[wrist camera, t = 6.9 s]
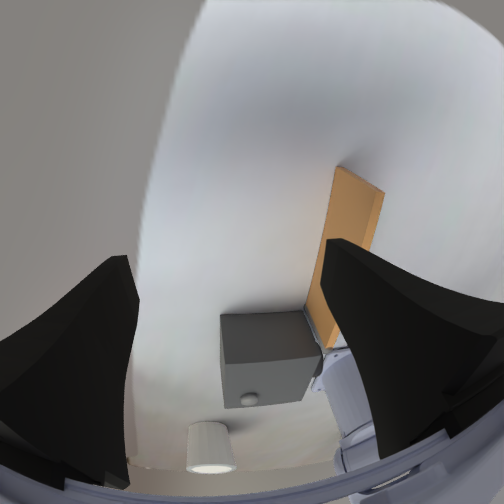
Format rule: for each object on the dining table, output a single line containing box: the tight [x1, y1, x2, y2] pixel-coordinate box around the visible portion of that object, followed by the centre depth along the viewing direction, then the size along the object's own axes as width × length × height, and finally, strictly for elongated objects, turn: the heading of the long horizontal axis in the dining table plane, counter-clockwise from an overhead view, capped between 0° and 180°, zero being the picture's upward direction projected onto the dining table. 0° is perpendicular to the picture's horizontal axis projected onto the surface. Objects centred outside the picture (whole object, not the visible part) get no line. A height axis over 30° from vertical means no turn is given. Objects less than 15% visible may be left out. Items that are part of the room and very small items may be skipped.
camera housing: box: [220, 311, 323, 409], centre depth 22 cm, size 8×7×6 cm
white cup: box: [186, 422, 237, 474], centre depth 31 cm, size 7×7×7 cm
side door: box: [304, 167, 385, 354], centre depth 18 cm, size 12×1×5 cm, turn 175°
